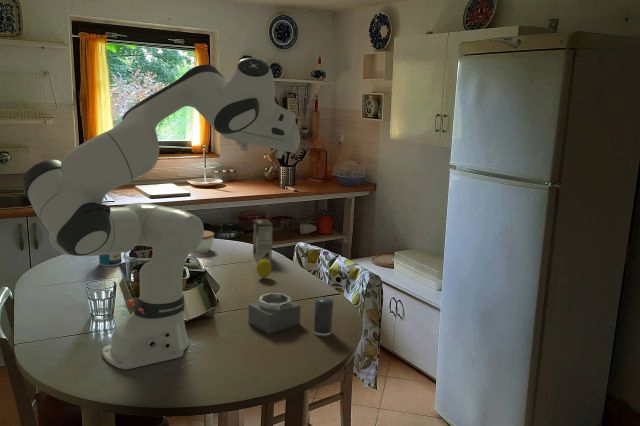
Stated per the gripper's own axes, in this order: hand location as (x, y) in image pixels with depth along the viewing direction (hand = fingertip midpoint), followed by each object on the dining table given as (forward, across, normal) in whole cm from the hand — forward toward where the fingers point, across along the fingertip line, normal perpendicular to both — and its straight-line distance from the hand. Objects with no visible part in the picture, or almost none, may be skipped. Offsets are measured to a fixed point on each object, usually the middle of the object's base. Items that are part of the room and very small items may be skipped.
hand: (261, 152), depth 147 cm
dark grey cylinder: (+43, +25, -28) cm, 57 cm away
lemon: (+73, -4, -1) cm, 73 cm away
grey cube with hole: (+46, +10, -27) cm, 55 cm away
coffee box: (+89, -10, +15) cm, 91 cm away
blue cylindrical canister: (+80, -64, -7) cm, 103 cm away
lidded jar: (+94, -38, +14) cm, 103 cm away
